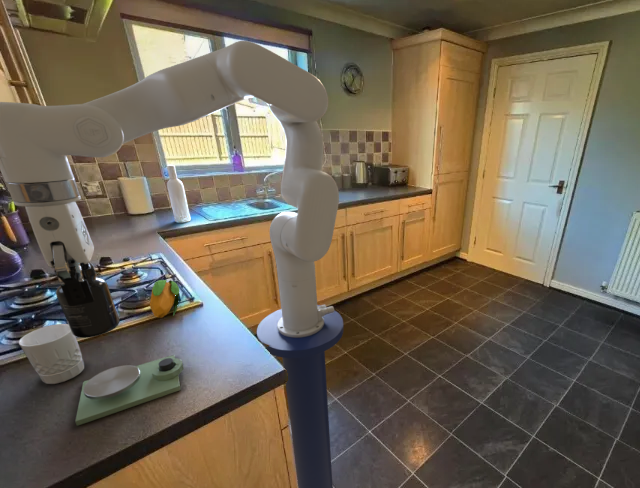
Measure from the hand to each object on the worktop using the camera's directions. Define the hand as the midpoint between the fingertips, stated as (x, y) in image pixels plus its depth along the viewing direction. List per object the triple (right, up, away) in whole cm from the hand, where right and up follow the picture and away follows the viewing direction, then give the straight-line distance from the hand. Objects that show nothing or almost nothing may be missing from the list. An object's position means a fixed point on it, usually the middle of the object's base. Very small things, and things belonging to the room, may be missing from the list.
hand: (84, 293), depth 57 cm
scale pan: (-1, -18, +7) cm, 19 cm away
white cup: (-16, -18, +13) cm, 27 cm away
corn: (-11, -7, +38) cm, 40 cm away
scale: (+1, -20, +9) cm, 22 cm away
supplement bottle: (0, -7, +3) cm, 7 cm away
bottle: (-61, +33, +127) cm, 145 cm away
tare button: (+7, -17, +12) cm, 21 cm away
